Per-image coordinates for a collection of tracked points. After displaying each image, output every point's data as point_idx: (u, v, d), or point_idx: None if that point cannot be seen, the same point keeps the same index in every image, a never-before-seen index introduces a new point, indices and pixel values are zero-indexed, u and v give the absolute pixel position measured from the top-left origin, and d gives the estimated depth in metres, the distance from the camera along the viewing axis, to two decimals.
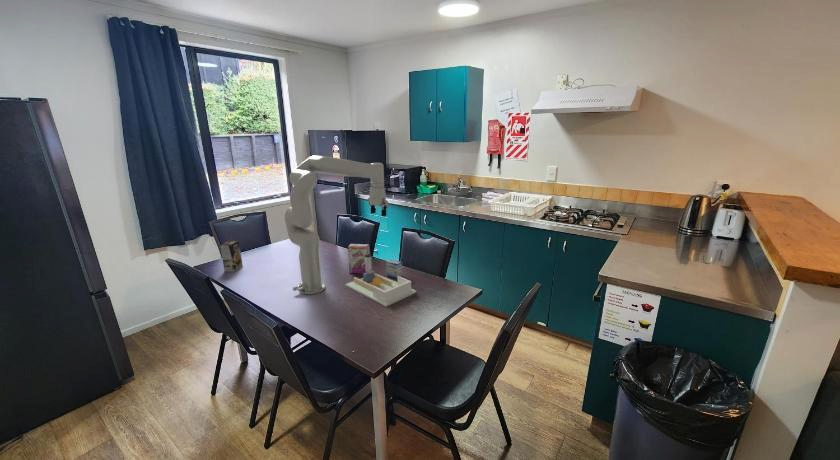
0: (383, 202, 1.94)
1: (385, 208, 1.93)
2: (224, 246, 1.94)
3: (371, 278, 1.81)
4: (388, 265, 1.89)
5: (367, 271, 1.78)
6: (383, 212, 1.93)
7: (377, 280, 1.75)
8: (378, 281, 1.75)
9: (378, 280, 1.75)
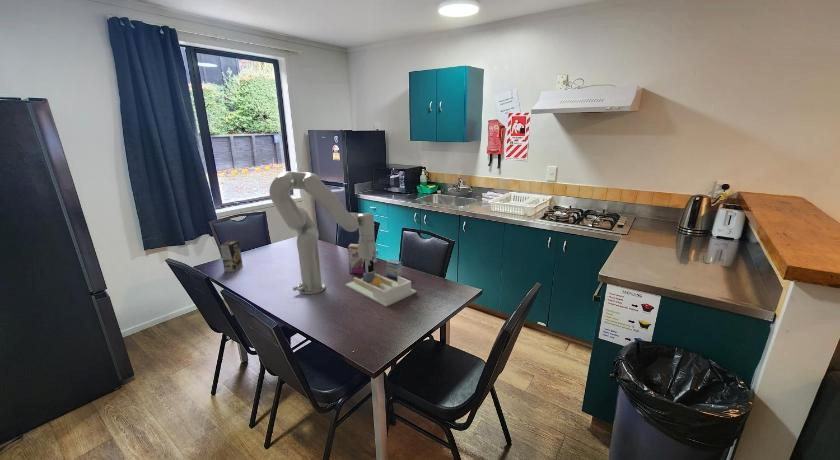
0: None
1: (372, 264, 1.76)
2: (224, 246, 1.94)
3: (371, 278, 1.81)
4: (388, 265, 1.89)
5: (367, 271, 1.78)
6: (370, 268, 1.77)
7: (377, 280, 1.75)
8: (378, 281, 1.75)
9: (378, 280, 1.75)
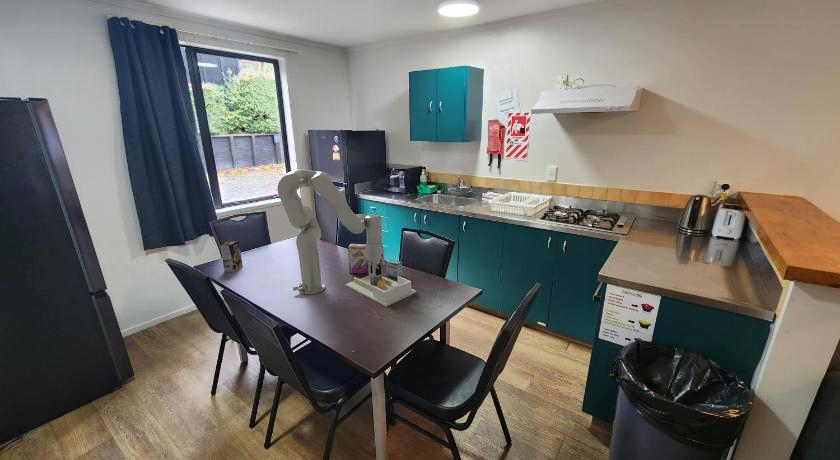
0: None
1: (380, 267, 1.72)
2: (224, 246, 1.94)
3: None
4: (388, 265, 1.89)
5: (374, 274, 1.74)
6: (377, 271, 1.73)
7: (382, 287, 1.73)
8: None
9: (383, 287, 1.74)
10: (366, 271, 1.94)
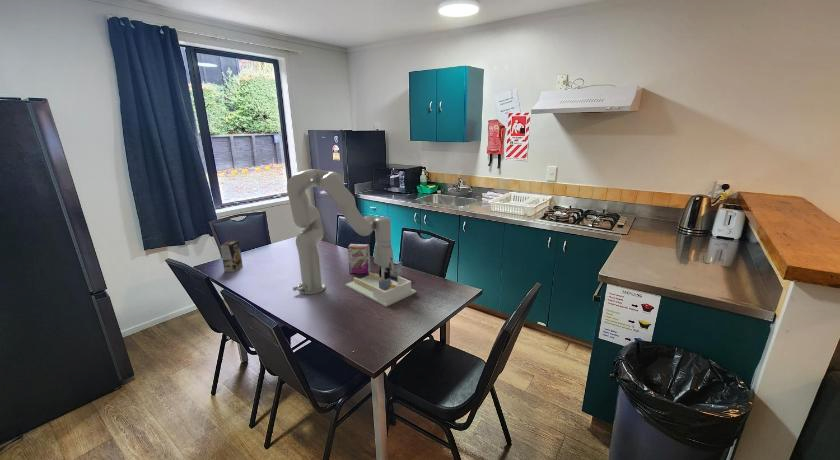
0: None
1: (389, 271, 1.67)
2: (224, 246, 1.94)
3: (387, 285, 1.72)
4: None
5: (383, 278, 1.70)
6: (386, 275, 1.68)
7: (392, 286, 1.67)
8: (393, 286, 1.67)
9: (393, 285, 1.67)
10: (366, 271, 1.94)
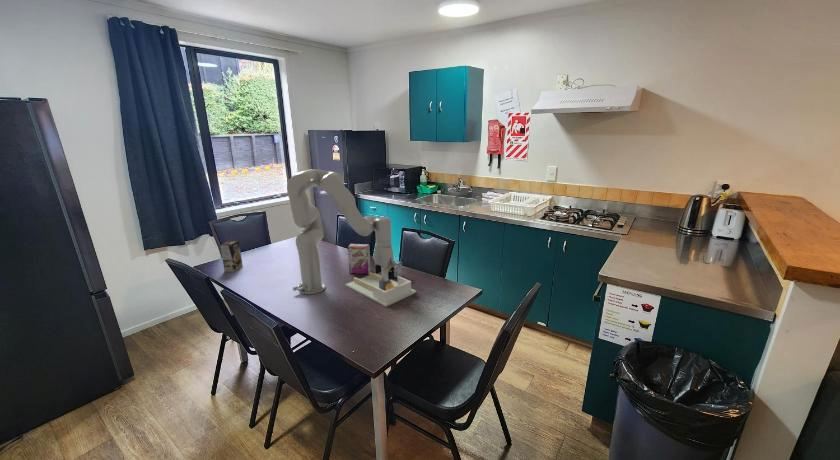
0: (390, 262, 1.67)
1: (393, 270, 1.65)
2: (224, 246, 1.94)
3: None
4: None
5: (383, 278, 1.70)
6: (390, 274, 1.66)
7: None
8: None
9: None
10: (366, 271, 1.94)
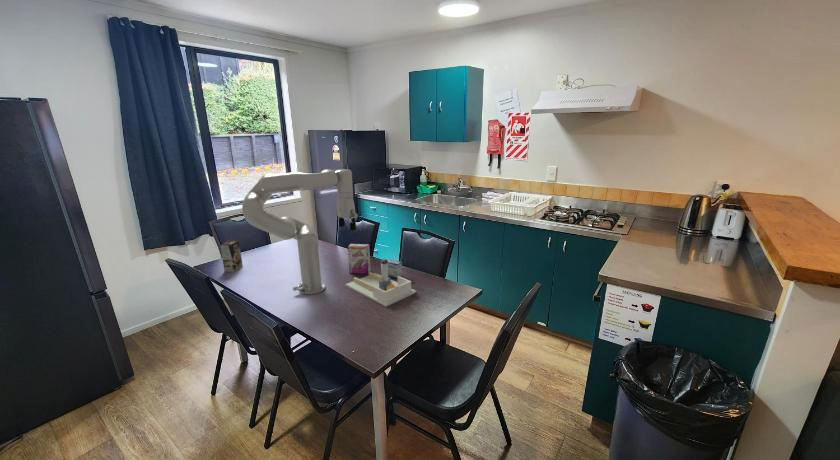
0: (352, 214, 1.71)
1: (354, 221, 1.69)
2: (224, 246, 1.94)
3: None
4: (388, 265, 1.89)
5: (383, 278, 1.70)
6: (352, 226, 1.70)
7: (387, 285, 1.69)
8: (389, 284, 1.69)
9: None
10: (366, 271, 1.94)
